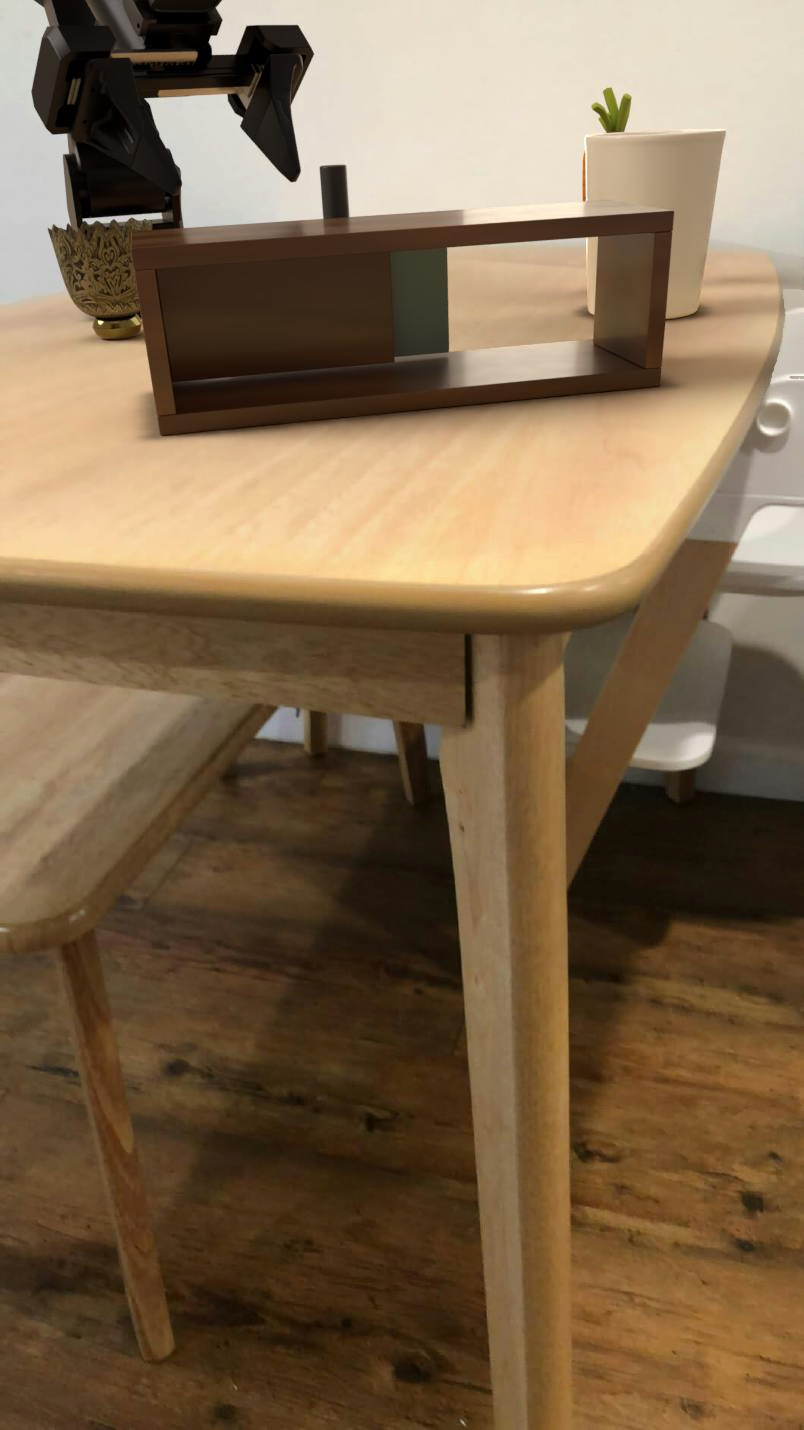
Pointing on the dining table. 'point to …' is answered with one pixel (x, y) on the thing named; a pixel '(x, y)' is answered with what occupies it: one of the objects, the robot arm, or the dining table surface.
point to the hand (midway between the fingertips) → (239, 183)
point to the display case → (377, 315)
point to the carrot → (609, 120)
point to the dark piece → (403, 280)
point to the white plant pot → (660, 197)
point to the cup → (101, 274)
